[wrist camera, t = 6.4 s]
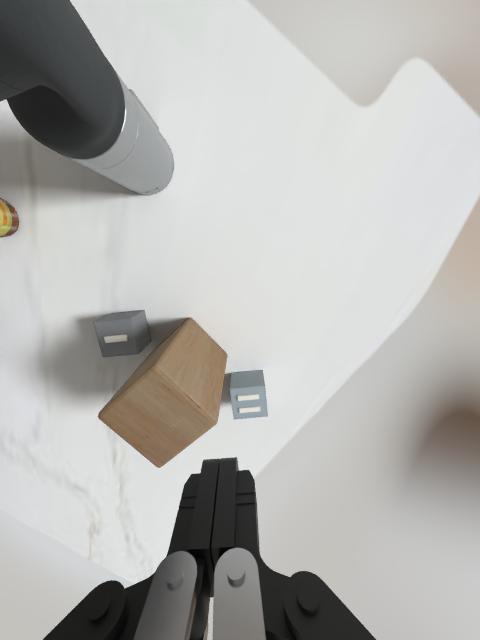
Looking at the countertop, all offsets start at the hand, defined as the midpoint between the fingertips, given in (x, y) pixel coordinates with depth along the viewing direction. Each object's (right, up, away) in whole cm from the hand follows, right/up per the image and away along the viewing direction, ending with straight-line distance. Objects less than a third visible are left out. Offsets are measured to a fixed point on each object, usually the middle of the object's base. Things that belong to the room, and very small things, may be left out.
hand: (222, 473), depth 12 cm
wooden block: (-8, +1, +37) cm, 38 cm away
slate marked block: (+2, -6, +39) cm, 39 cm away
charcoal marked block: (-19, +6, +36) cm, 41 cm away
